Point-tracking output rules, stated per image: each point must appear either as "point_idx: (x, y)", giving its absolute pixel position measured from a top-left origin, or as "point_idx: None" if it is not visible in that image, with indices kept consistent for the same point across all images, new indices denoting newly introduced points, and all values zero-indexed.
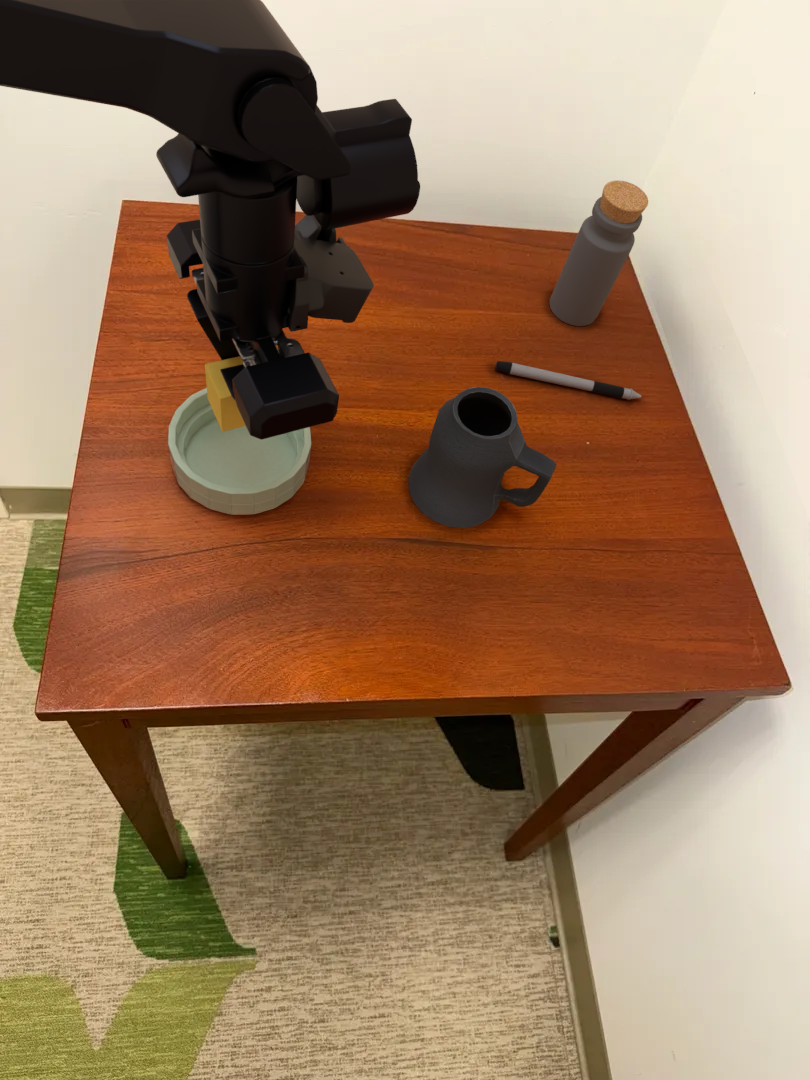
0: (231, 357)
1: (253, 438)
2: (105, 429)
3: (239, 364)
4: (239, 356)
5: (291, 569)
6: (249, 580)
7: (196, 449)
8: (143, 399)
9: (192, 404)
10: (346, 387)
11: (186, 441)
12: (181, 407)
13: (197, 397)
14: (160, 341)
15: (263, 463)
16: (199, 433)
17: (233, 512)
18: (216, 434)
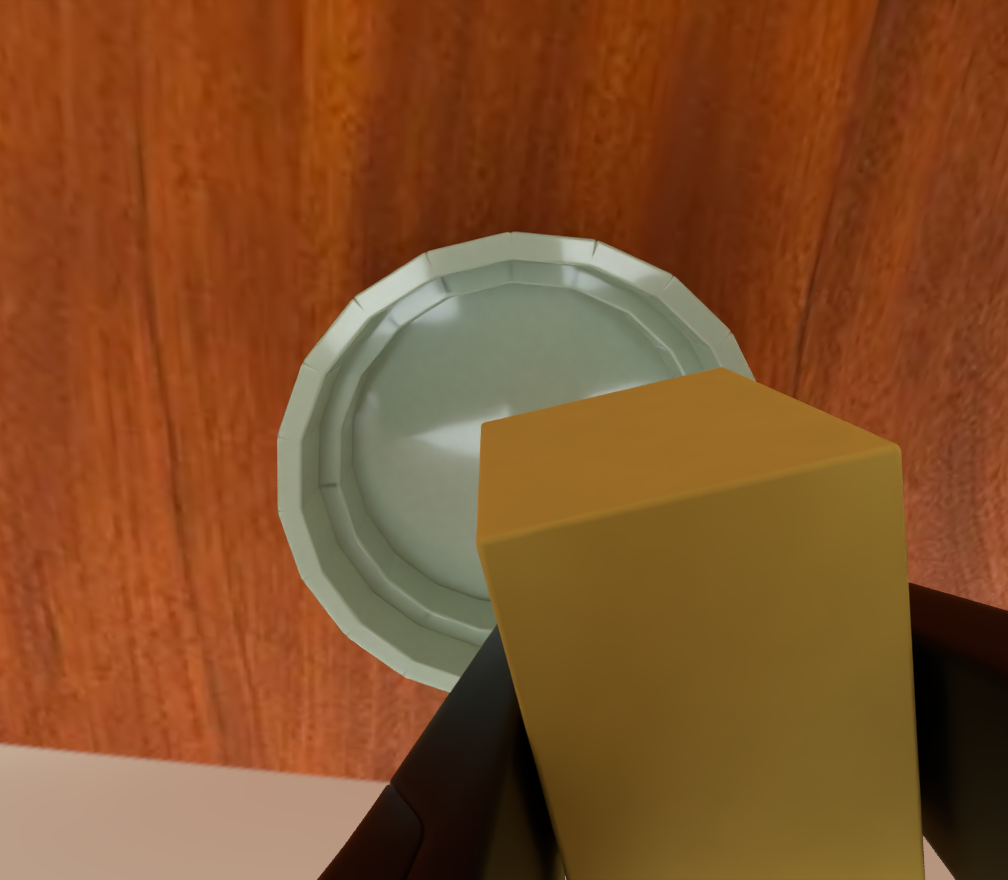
0: (555, 874)
1: (447, 410)
2: (381, 756)
3: (638, 838)
4: (556, 833)
5: (896, 348)
6: None
7: (477, 571)
8: (281, 675)
9: (376, 625)
10: (200, 29)
11: (465, 606)
12: (395, 662)
13: (353, 615)
14: (55, 628)
15: (546, 390)
16: (421, 560)
17: None
18: (426, 515)
